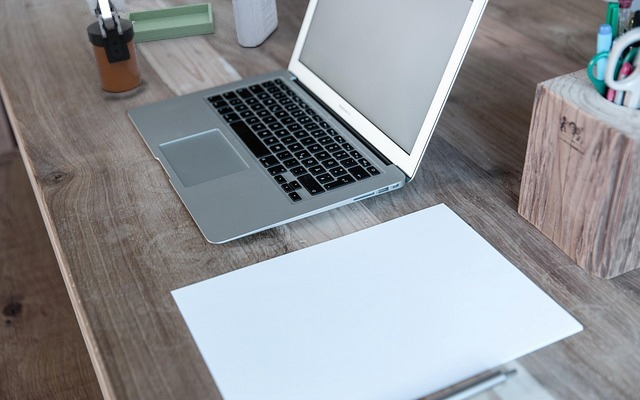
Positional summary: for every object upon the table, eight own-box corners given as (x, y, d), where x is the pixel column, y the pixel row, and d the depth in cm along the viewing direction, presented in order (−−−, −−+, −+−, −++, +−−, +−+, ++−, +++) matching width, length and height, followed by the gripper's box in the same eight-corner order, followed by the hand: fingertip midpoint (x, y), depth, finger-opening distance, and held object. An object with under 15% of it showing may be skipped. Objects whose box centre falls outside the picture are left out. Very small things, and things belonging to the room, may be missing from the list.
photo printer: (258, 23, 124) (249, -49, 117) (281, 25, 123) (273, -48, 116) (235, 47, 116) (223, -28, 109) (259, 49, 115) (249, -28, 108)
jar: (99, 93, 105) (87, 40, 100) (103, 76, 110) (91, 24, 105) (140, 89, 106) (130, 36, 101) (142, 73, 111) (132, 21, 106)
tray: (125, 44, 121) (122, 33, 120) (129, 22, 129) (126, 12, 128) (214, 32, 122) (212, 22, 121) (212, 12, 130) (211, 2, 129)
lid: (136, 42, 102) (134, 31, 101) (90, 49, 100) (87, 37, 99) (132, 26, 107) (130, 15, 106) (88, 32, 105) (85, 21, 104)
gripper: (117, -64, 89) (150, 68, 99) (107, -92, 102) (137, 27, 113) (55, -53, 87) (95, 80, 97) (54, -83, 101) (89, 36, 111)
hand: (117, 50), depth 105 cm, fingers closed on lid, 6 cm apart
